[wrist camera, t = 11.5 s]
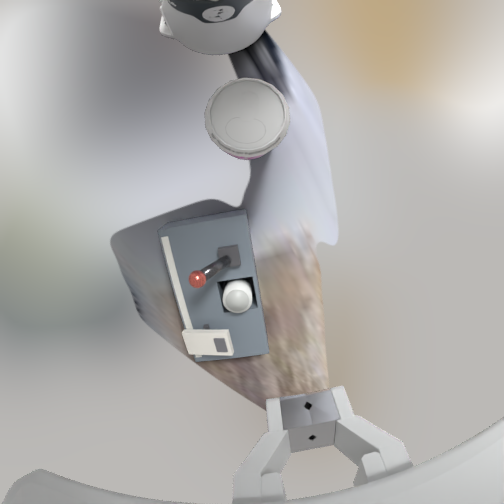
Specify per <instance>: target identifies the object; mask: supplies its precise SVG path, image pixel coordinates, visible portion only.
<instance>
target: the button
mask: <svg viewBox="0 0 504 504" xmlns="http://www.w3.org/2000/svg"><path fill="white" fill-rule="evenodd" d="M223 304H224V306H225V307H226V309H228V310H229V311H231V312H234V313H242V312H245V311H246V310H248V309H249V308H250V306H251V304H252V287H251V284H250V283H249V281H248V280H246V279H245V278H239V279H232V280H228V281H227V283H226V284H225V288H224V294H223Z"/></svg>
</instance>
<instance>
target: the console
mask: <svg viewBox="0 0 504 504" xmlns="http://www.w3.org/2000/svg"><path fill="white" fill-rule="evenodd" d="M158 235H159V239H160V243H161V247H162V251H163V255H164V259H165V263H166V266H167V270H168V274H169V278H170V281H171V285H172V288H173V292H174V295H175V299H176V302H177V305H178V309H179V312H180V315H181V318H182V322H183V325H184V328H185V329H202V330H221V329H229V333H230V337H231V341H232V345H233V349H234V353H233V356H224V355H195V354H193V355H194V358H195V361H196V362H200V361H211V360H221V359H230V358H239V357H247V356H254V355H261V354H268V353H269V346H268V337H267V331H266V325H265V319H264V313H263V307H262V301H261V295H260V289H259V283H258V278H257V272H256V266H255V260H254V254H253V248H252V242H251V236H250V230H249V224H248V218H247V212H246V209H241V210H235V211H229V212H224V213H218V214H212V215H207V216H201V217H196V218H190V219H185V220H180V221H175V222H170V223H167V224H165V225H164V226H163V227H161V228H160V229H159V230H158ZM224 255H228V256H229V257H230V258H231V264H230V265H229V266H227V267H226V268H224V269H223V270H222V271H220V272H219V273H217V274H216V275H214V276H213V277H211V278H210V279H208V280H207V281H206V283H205V285H204V286H203V287H201V288H194V287H192V286H191V285H190V283H189V280H188V278H189V275H190V273H191V272H193V271H195V270H199V271H200V270H201V269H203V268H204V267H206V266H208V265H209V264H211V263H213V262H214V261H216V260H217V259H219V258H221V257H222V256H224ZM239 278H245V279H246V280H248V281H249V283H250V284H251V287H252V304H251V306H250V308H249V309H248V310H246V311H245V312H242V313H234V312H231V311H229V310H228V309H226V307H225V306H224V304H223V294H224V288H225V284H226V283H227V281H228V280H232V279H239Z"/></svg>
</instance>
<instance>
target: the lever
mask: <svg viewBox="0 0 504 504" xmlns="http://www.w3.org/2000/svg"><path fill="white" fill-rule="evenodd" d="M230 264H231V258H230V257H229V256H228V255H224V256H222V257H221V258H219V259H217V260H216V261H214V262H213V263H211V264H209V265H208V266H206V267H204V268H203V269H201V270H200V271H199V270H195V271H193V272H191V273H190V275H189V278H188V280H189V283H190V285H191V286H192V287H194V288H201V287H203V286H204V285H205V283H206V281H207V280H208V279H210V278H211V277H213V276H214V275H216V274H217V273H219V272H220V271H222V270H223V269H224V268H226V267H227V266H229V265H230Z"/></svg>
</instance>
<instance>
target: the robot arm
mask: <svg viewBox="0 0 504 504" xmlns="http://www.w3.org/2000/svg"><path fill="white" fill-rule="evenodd" d="M159 1H160V3H162V6H160V11H161V14H162V16H161V22H160V33H161V35H162V36H165V37H168V38H172V39H176V40H178V41H179V42H181V43H182V44H183V45H184V46H186V47H187V48H189V49H191V50H193V51H195V52H198V53H202V54H208V55H222V54H229V53H233V52H236V51H239V50H242V49H244V48H246V47H248V46H249V45H251V44H252V43H254V42H255V41H256V40H257V39H258V38H259V37H260V36H261V35H262V33H263V32H264V30H265V28H266V27H267V25H268V24H269V23H271V22H272V21H274V20H275V19H277V18H278V17H279V16H280V15H281V8H280V6H279V4H278V3H277V1H276V0H159ZM272 6H273V7H272ZM166 24H167V25H166ZM266 411H267V423H268V432H266V433H264V434H263V435H262V437H261V439H260V440H259V441H258V443H257V444H256V446H255V447H254V448H253V450H252V451H251V452H250V454H249V455H248V456H247V458H246V459H245V460H244V462H243V463H242V464H241V466H240V467H239V468H238V470H237V471H236V472H235V473H234V475H233V504H504V417H503V418H501V419H500V420H499V421H497V422H496V423H494V424H492V425H491V426H489V428H486V429H485V430H483V431H482V432H480V433H478V434H477V435H475V436H473V437H472V438H470V439H468V440H467V441H465V442H463V443H461V444H460V445H458V446H456V447H454V448H453V449H450V450H448V451H446V452H444V453H442V454H440V455H438V456H436V457H434V458H432V459H430V460H428V461H425V462H423V463H421V464H418V465H416V466H414V467H413V464H412V462H411V460H410V457H409V455H408V453H407V450H406V448H405V446H404V444H403V442H402V441H401V440H399V439H397V438H396V437H394V436H392V435H391V434H389V433H387V432H385V431H384V430H382V429H380V428H379V427H377V426H376V425H374V424H372V423H371V422H369V421H367V420H366V419H364V418H362V417H361V416H359V415H356V416H355V415H354V412H353V410H352V407H351V404H350V402H349V399H348V396H347V394H346V391H345V389H344V387H343V386H339V387H334V388H330V389H329V388H328V389H324V390H319V391H315V392H310V393H305V394H301V395H294V396H287V397H280V399H279V398H272V399H266ZM330 445H334V446H335V447H336V448H337V449H339V451H341V452H342V453H343V454H344V455H345V456H347V457H348V458H349V459H350V460H351V461H352V462H354V463H355V464H356V465H357V466H358V467H359V468H358V471H357V474H356V477H355V479H354V482H353V483H354V487H352V488H348V489H344V490H340V491H336V492H331V493H327V494H322V495H317V496H311V497H306V498H299V499H292V500H286V494H285V490H284V486H283V480H282V476H281V472H282V470H283V468H284V466H285V465H286V463H287V461H288V459H289V457H290V455H291V453H293V452H298V451H304V450H309V449H314V448H320V447H325V446H330ZM2 504H194V503H182V502H171V501H163V500H155V499H148V498H142V497H136V496H131V495H126V494H121V493H117V492H112V491H108V490H104V489H100V488H97V487H93V486H90V485H86V484H83V483H80V482H77V481H74V480H71V479H68V478H65V477H62V476H59V475H57V474H54V473H52V472H49V471H46V470H43V469H38V470H35V471H33V472H31V473H29V474H27V475H25V476H23V477H22V478H20V479H18V480H17V481H16V482H14V484H13V485H12V487H11V488H10V489H9V491H8V493H7V495H6V497H5V499H4V501H3V503H2ZM195 504H196V503H195Z"/></svg>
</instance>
